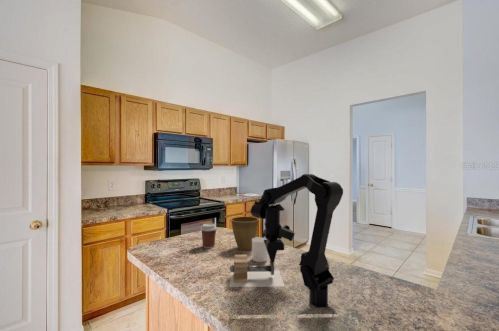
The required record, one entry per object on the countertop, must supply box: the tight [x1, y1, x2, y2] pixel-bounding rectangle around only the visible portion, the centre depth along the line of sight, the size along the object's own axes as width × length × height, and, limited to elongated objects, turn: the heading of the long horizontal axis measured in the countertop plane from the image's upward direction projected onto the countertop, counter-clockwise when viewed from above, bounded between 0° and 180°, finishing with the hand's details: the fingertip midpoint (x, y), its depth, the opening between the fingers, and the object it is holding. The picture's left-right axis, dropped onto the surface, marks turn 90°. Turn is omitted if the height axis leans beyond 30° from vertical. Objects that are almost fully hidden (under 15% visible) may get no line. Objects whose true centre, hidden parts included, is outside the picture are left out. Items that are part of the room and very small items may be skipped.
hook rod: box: [229, 259, 275, 275], centre depth 92 cm, size 5×18×9 cm, turn 92°
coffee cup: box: [200, 223, 218, 249], centre depth 131 cm, size 9×9×12 cm
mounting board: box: [228, 269, 286, 288], centre depth 92 cm, size 14×20×1 cm
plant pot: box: [230, 216, 259, 251], centre depth 129 cm, size 15×15×16 cm
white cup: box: [251, 236, 269, 263], centre depth 111 cm, size 8×8×10 cm
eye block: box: [233, 254, 248, 283], centre depth 92 cm, size 8×5×8 cm, turn 2°
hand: (272, 261), depth 92 cm, fingers closed on hook rod, 2 cm apart
